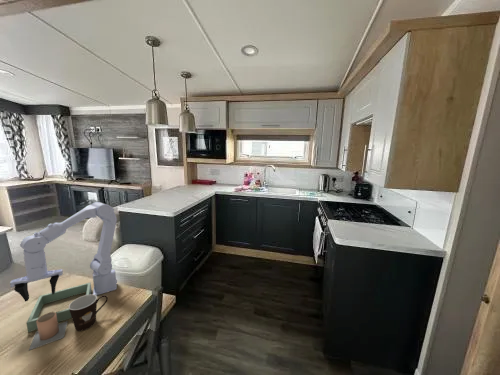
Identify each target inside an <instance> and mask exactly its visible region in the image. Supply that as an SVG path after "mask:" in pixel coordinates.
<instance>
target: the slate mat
mask: <svg viewBox="0 0 500 375" xmlns="http://www.w3.org/2000/svg"><path fill="white" fill-rule="evenodd" d="M67 325H68V321H67V320H65V321H62V322H59V323H58V326H59V332H58V333H57V334H56V335H55V336H53V337H51V338H49V339H47V340H40V337H39V332H38V330H37V331H36V330H35V334H34V335H33V338H32V341H31V343H30V345H29V348H28V351H31V350H34V349H36V348H40V347H42V346H44V345H45V346H46V345H48V344H51V343H54V342H56V341H59V340H61V339H64V338H65V333H66V332H67V331H66V330H67V327H68V326H67Z"/></svg>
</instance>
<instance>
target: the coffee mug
mask: <svg viewBox="0 0 500 375" xmlns="http://www.w3.org/2000/svg"><path fill="white" fill-rule="evenodd" d="M102 298H105V301H104V302H103V304H102V305H101V306H100V307H99V308H98V309H97V306H98V302H99V300H100V299H102ZM108 301H109V296H107V295H101V296H100V297H98V295H93V293H91V294H90V295H86V294H85V295H81V296H79V297H77V298H75V299H74V300H72V301H71V302H70V303H69V305H68V308H69V310H70V314H71V317H72V318H71V320H72V323H73V326H74V329H75V331H77V332H83V331H86V330H88V329H90V328H92V327H93V326H94V325H95V323H96V321H97V313H98V312H99V311H100V310H101V309H102V308H103V307H104V306H105V305H106V303H107V302H108Z"/></svg>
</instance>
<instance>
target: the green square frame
mask: <svg viewBox="0 0 500 375" xmlns="http://www.w3.org/2000/svg"><path fill="white" fill-rule="evenodd" d="M91 283H92V282H91V281H90V282H86V283H83V284H78V285H75V286H70V287H68V288H64V289H60V290H57V291H56V290H55V293H54V294H52V292H49V293H45V294H41V295H39V296H38V298H37V300H36V302H35V304H34V307H33V309H32V310H31V313H30V315H29V317H28V319H27V320H26V327H27V333H31V332H33V331H36V330H38V328H37V323H36V321H37V319H38V318H39V315H40V314H41V310H42V308H43V306H44V305H45V304H49V303H53V302H56V301H60V300H64V299H66V298H70V296H71V297H74V296H77V294H78V295H80V293H81V294H84V292H85V295H90V294H92V284H91ZM73 295H74V296H73ZM55 312H56V315H57V321H58V323H62V322H65V321H67V320H69V319H72V317H71V314H70V310H69V307H68V308H65V309H62V310H60V311H55Z"/></svg>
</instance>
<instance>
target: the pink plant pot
mask: <svg viewBox="0 0 500 375" xmlns="http://www.w3.org/2000/svg"><path fill="white" fill-rule="evenodd" d="M56 312H57V311H50V312H47V313H44V314H42V315H40V316H38V319H37V321H36V323H37V328H38V329H37V331H38V332H39V337H40V340H47V339H49V338H51V337H53V336H55V335H56V334H57V333H58V332H59V326H58V324H59V322H58V321H57V315H56Z"/></svg>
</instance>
